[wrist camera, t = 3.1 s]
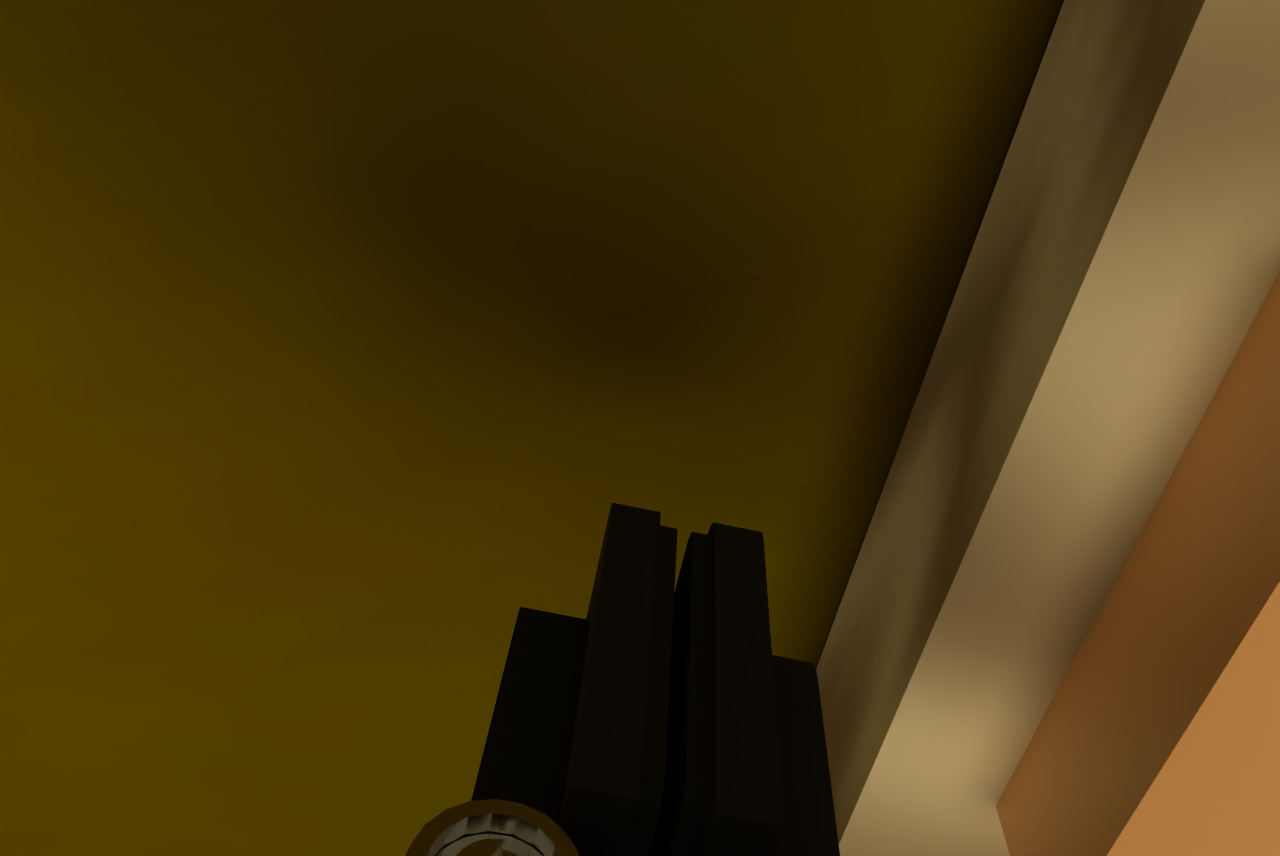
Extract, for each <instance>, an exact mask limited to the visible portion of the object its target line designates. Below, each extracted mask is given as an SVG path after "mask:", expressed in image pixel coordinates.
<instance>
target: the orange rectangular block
mask: <svg viewBox="0 0 1280 856" xmlns="http://www.w3.org/2000/svg"><path fill="white" fill-rule="evenodd" d="M996 809H997V812H998V816H999V819H1000V823H1001V826H1002V830H1003V833H1004V837H1005V840H1006V844H1007V847H1008V851H1009V854H1010V856H1280V272H1279V274H1278V276H1277V278H1276V280H1275V282H1274V284H1273V285H1272V287H1271V289H1270V291H1269V293H1268V295H1267V297H1266V299H1265V301H1264V302H1263V304H1262V306H1261V308H1260V310H1259V312H1258V314H1257V316H1256V317H1255V319H1254V321H1253V323H1252V325H1251V327H1250V329H1249V331H1248V333H1247V334H1246V336H1245V338H1244V340H1243V342H1242V344H1241V346H1240V348H1239V349H1238V351H1237V353H1236V355H1235V357H1234V359H1233V361H1232V363H1231V364H1230V366H1229V368H1228V370H1227V372H1226V374H1225V376H1224V378H1223V380H1222V381H1221V383H1220V385H1219V387H1218V389H1217V391H1216V393H1215V395H1214V396H1213V398H1212V400H1211V402H1210V404H1209V406H1208V408H1207V410H1206V412H1205V413H1204V415H1203V417H1202V419H1201V421H1200V423H1199V425H1198V427H1197V428H1196V430H1195V432H1194V434H1193V436H1192V438H1191V440H1190V442H1189V444H1188V445H1187V447H1186V449H1185V451H1184V453H1183V455H1182V457H1181V459H1180V460H1179V462H1178V464H1177V466H1176V468H1175V470H1174V472H1173V474H1172V476H1171V477H1170V479H1169V481H1168V483H1167V485H1166V487H1165V489H1164V491H1163V492H1162V494H1161V496H1160V498H1159V500H1158V502H1157V504H1156V506H1155V508H1154V509H1153V511H1152V513H1151V515H1150V517H1149V519H1148V521H1147V523H1146V524H1145V526H1144V528H1143V530H1142V532H1141V534H1140V536H1139V538H1138V539H1137V541H1136V543H1135V545H1134V547H1133V549H1132V551H1131V553H1130V555H1129V556H1128V558H1127V560H1126V562H1125V564H1124V566H1123V568H1122V570H1121V571H1120V573H1119V575H1118V577H1117V579H1116V581H1115V583H1114V585H1113V587H1112V588H1111V590H1110V592H1109V594H1108V596H1107V598H1106V600H1105V602H1104V603H1103V605H1102V607H1101V609H1100V611H1099V613H1098V615H1097V617H1096V619H1095V620H1094V622H1093V624H1092V626H1091V628H1090V630H1089V632H1088V634H1087V635H1086V637H1085V639H1084V641H1083V643H1082V645H1081V647H1080V649H1079V651H1078V652H1077V654H1076V656H1075V658H1074V660H1073V662H1072V664H1071V666H1070V667H1069V669H1068V671H1067V673H1066V675H1065V677H1064V679H1063V681H1062V683H1061V684H1060V686H1059V688H1058V690H1057V692H1056V694H1055V696H1054V698H1053V699H1052V701H1051V703H1050V705H1049V707H1048V709H1047V711H1046V713H1045V715H1044V716H1043V718H1042V720H1041V722H1040V724H1039V726H1038V728H1037V730H1036V731H1035V733H1034V735H1033V737H1032V739H1031V741H1030V743H1029V745H1028V746H1027V748H1026V750H1025V752H1024V754H1023V756H1022V758H1021V760H1020V762H1019V763H1018V765H1017V767H1016V769H1015V771H1014V773H1013V775H1012V777H1011V778H1010V780H1009V782H1008V784H1007V786H1006V788H1005V790H1004V792H1003V794H1002V795H1001V797H1000V799H999V801H998V803H997V805H996Z"/></svg>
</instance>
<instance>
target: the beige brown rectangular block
mask: <svg viewBox="0 0 1280 856" xmlns="http://www.w3.org/2000/svg"><path fill="white" fill-rule="evenodd" d="M1279 272H1280V0H1064V2H1063V5H1062V8H1061V10H1060V13H1059V16H1058V18H1057V21H1056V24H1055V27H1054V29H1053V32H1052V35H1051V37H1050V40H1049V43H1048V45H1047V48H1046V51H1045V53H1044V56H1043V59H1042V62H1041V64H1040V67H1039V70H1038V72H1037V75H1036V78H1035V80H1034V83H1033V86H1032V89H1031V91H1030V94H1029V97H1028V99H1027V102H1026V105H1025V107H1024V110H1023V113H1022V115H1021V118H1020V121H1019V124H1018V126H1017V129H1016V132H1015V134H1014V137H1013V140H1012V142H1011V145H1010V148H1009V151H1008V153H1007V156H1006V159H1005V161H1004V164H1003V167H1002V169H1001V172H1000V175H999V177H998V180H997V183H996V186H995V188H994V191H993V194H992V196H991V199H990V202H989V204H988V207H987V210H986V213H985V215H984V218H983V221H982V223H981V226H980V229H979V231H978V234H977V237H976V239H975V242H974V245H973V248H972V250H971V253H970V256H969V258H968V261H967V264H966V266H965V269H964V272H963V275H962V277H961V280H960V283H959V285H958V288H957V291H956V293H955V296H954V299H953V301H952V304H951V307H950V310H949V312H948V315H947V318H946V320H945V323H944V326H943V328H942V331H941V334H940V337H939V339H938V342H937V345H936V347H935V350H934V353H933V355H932V358H931V361H930V363H929V366H928V369H927V372H926V374H925V377H924V380H923V382H922V385H921V388H920V390H919V393H918V396H917V399H916V401H915V404H914V407H913V409H912V412H911V415H910V417H909V420H908V423H907V425H906V428H905V431H904V434H903V436H902V439H901V442H900V444H899V447H898V450H897V452H896V455H895V458H894V461H893V463H892V466H891V469H890V471H889V474H888V477H887V479H886V482H885V485H884V487H883V490H882V493H881V496H880V498H879V501H878V504H877V506H876V509H875V512H874V514H873V517H872V520H871V523H870V525H869V528H868V531H867V533H866V536H865V539H864V541H863V544H862V547H861V549H860V552H859V555H858V558H857V560H856V563H855V566H854V568H853V571H852V574H851V576H850V579H849V582H848V585H847V587H846V590H845V593H844V595H843V598H842V601H841V603H840V606H839V609H838V611H837V614H836V617H835V620H834V622H833V625H832V628H831V630H830V633H829V636H828V638H827V641H826V644H825V647H824V649H823V652H822V655H821V657H820V660H819V663H818V665H817V668H816V672H817V677H818V683H819V691H820V699H821V707H822V715H823V723H824V731H825V739H826V747H827V755H828V763H829V771H830V779H831V787H832V795H833V803H834V811H835V819H836V827H837V835H838V843H839V851H840V856H1010V854H1009V851H1008V847H1007V844H1006V840H1005V837H1004V833H1003V830H1002V826H1001V823H1000V819H999V816H998V812H997V809H996V805H997V803H998V801H999V799H1000V797H1001V795H1002V794H1003V792H1004V790H1005V788H1006V786H1007V784H1008V782H1009V780H1010V778H1011V777H1012V775H1013V773H1014V771H1015V769H1016V767H1017V765H1018V763H1019V762H1020V760H1021V758H1022V756H1023V754H1024V752H1025V750H1026V748H1027V746H1028V745H1029V743H1030V741H1031V739H1032V737H1033V735H1034V733H1035V731H1036V730H1037V728H1038V726H1039V724H1040V722H1041V720H1042V718H1043V716H1044V715H1045V713H1046V711H1047V709H1048V707H1049V705H1050V703H1051V701H1052V699H1053V698H1054V696H1055V694H1056V692H1057V690H1058V688H1059V686H1060V684H1061V683H1062V681H1063V679H1064V677H1065V675H1066V673H1067V671H1068V669H1069V667H1070V666H1071V664H1072V662H1073V660H1074V658H1075V656H1076V654H1077V652H1078V651H1079V649H1080V647H1081V645H1082V643H1083V641H1084V639H1085V637H1086V635H1087V634H1088V632H1089V630H1090V628H1091V626H1092V624H1093V622H1094V620H1095V619H1096V617H1097V615H1098V613H1099V611H1100V609H1101V607H1102V605H1103V603H1104V602H1105V600H1106V598H1107V596H1108V594H1109V592H1110V590H1111V588H1112V587H1113V585H1114V583H1115V581H1116V579H1117V577H1118V575H1119V573H1120V571H1121V570H1122V568H1123V566H1124V564H1125V562H1126V560H1127V558H1128V556H1129V555H1130V553H1131V551H1132V549H1133V547H1134V545H1135V543H1136V541H1137V539H1138V538H1139V536H1140V534H1141V532H1142V530H1143V528H1144V526H1145V524H1146V523H1147V521H1148V519H1149V517H1150V515H1151V513H1152V511H1153V509H1154V508H1155V506H1156V504H1157V502H1158V500H1159V498H1160V496H1161V494H1162V492H1163V491H1164V489H1165V487H1166V485H1167V483H1168V481H1169V479H1170V477H1171V476H1172V474H1173V472H1174V470H1175V468H1176V466H1177V464H1178V462H1179V460H1180V459H1181V457H1182V455H1183V453H1184V451H1185V449H1186V447H1187V445H1188V444H1189V442H1190V440H1191V438H1192V436H1193V434H1194V432H1195V430H1196V428H1197V427H1198V425H1199V423H1200V421H1201V419H1202V417H1203V415H1204V413H1205V412H1206V410H1207V408H1208V406H1209V404H1210V402H1211V400H1212V398H1213V396H1214V395H1215V393H1216V391H1217V389H1218V387H1219V385H1220V383H1221V381H1222V380H1223V378H1224V376H1225V374H1226V372H1227V370H1228V368H1229V366H1230V364H1231V363H1232V361H1233V359H1234V357H1235V355H1236V353H1237V351H1238V349H1239V348H1240V346H1241V344H1242V342H1243V340H1244V338H1245V336H1246V334H1247V333H1248V331H1249V329H1250V327H1251V325H1252V323H1253V321H1254V319H1255V317H1256V316H1257V314H1258V312H1259V310H1260V308H1261V306H1262V304H1263V302H1264V301H1265V299H1266V297H1267V295H1268V293H1269V291H1270V289H1271V287H1272V285H1273V284H1274V282H1275V280H1276V278H1277V276H1278V274H1279Z"/></svg>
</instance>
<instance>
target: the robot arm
mask: <svg viewBox="0 0 1280 856" xmlns="http://www.w3.org/2000/svg"><path fill="white" fill-rule="evenodd" d="M676 547H677V529H675V528H670V527H665V526H660V512H657V511H652V510H647V509H642V508H636V507H631V506H626V505H621V504H616V503H612V505H611V508H610V513H609V517H608V522H607V526H606V531H605V535H604V540H603V545H602V549H601V554H600V558H599V563H598V568H597V572H596V577H595V582H594V586H593V591H592V595H591V600H590V605H589V609H588V614H587V618H586V619H581V618H576V617H570V616H565V615H560V614H555V613H549V612H544V611H539V610H534V609H529V608H523V607H520V609H519V613H518V616H517V620H516V624H515V628H514V632H513V636H512V640H511V644H510V648H509V652H508V656H507V660H506V664H505V668H504V672H503V676H502V680H501V684H500V688H499V692H498V696H497V700H496V704H495V708H494V712H493V716H492V720H491V724H490V728H489V732H488V736H487V740H486V744H485V748H484V752H483V756H482V760H481V764H480V768H479V772H478V776H477V780H476V784H475V788H474V792H473V796H472V800H471V801H469V802H466V803H463V804H460V805H458V806H455V807H452V808H449V809H446V810H445V811H443V812H442V813H441V814H439V815H438V816H436V817H435V818H434V819H432V820H431V821H429V822H428V823H427V824H425V826H424V827H423V828H422V830H421V831H420V833H419V834H418V835H417V837H416V838H415V839H414V841H413V842H412V843H411V845H410V847H409V849H408V851H407V853H406V855H405V856H840V851H839V843H838V835H837V827H836V819H835V811H834V803H833V795H832V787H831V779H830V771H829V763H828V755H827V747H826V739H825V731H824V723H823V715H822V707H821V699H820V691H819V683H818V677H817V672H816V668H815V666H814V665H813V664H812V663H810V662H805V661H800V660H795V659H790V658H784V657H779V656H774V655H772V650H771V636H770V622H769V608H768V595H767V581H766V567H765V553H764V540H763V534H762V533H761V532H759V531H754V530H748V529H743V528H738V527H733V526H728V525H723V524H718V523H713V524H712V525H711V527H710V529H709V532H708V535H706V534H701V533H696V532H692V533H691V534H690V537H689V540H688V543H687V547H686V551H685V554H684V558H683V562H682V566H681V570H680V573H679V577H678V581H677V585H676V588H675V592H674V586H675V567H676Z"/></svg>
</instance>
